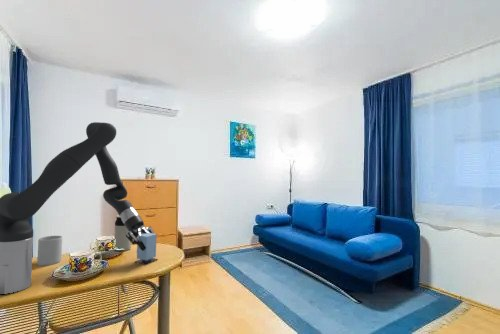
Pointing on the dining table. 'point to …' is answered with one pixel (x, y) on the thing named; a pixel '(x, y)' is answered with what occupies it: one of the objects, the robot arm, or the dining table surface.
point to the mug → (49, 250)
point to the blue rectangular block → (147, 246)
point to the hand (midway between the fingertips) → (149, 247)
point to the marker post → (146, 261)
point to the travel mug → (121, 234)
